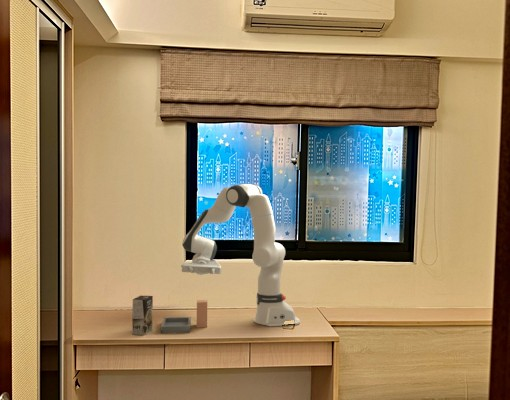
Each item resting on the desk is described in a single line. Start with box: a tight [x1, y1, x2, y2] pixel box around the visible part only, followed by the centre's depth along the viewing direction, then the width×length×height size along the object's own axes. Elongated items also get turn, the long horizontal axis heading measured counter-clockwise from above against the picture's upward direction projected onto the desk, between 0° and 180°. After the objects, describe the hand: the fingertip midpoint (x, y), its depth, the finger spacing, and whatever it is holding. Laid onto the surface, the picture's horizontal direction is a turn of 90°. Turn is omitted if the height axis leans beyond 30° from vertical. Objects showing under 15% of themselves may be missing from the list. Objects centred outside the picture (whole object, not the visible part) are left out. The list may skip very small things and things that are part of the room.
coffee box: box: [131, 295, 154, 336], centre depth 239 cm, size 9×6×16 cm
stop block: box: [196, 299, 208, 328], centre depth 251 cm, size 5×5×12 cm
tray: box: [160, 316, 192, 334], centre depth 247 cm, size 13×16×3 cm
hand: (202, 272), depth 261 cm, fingers open, 8 cm apart
